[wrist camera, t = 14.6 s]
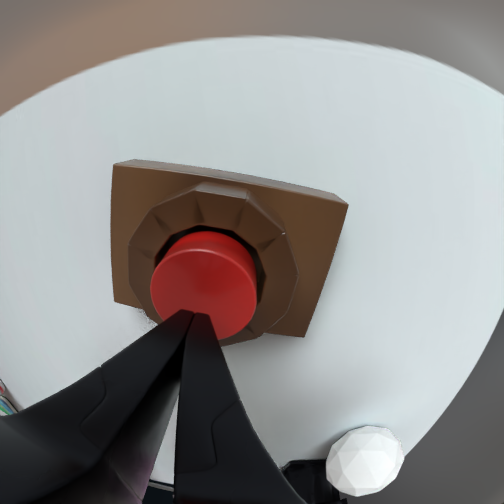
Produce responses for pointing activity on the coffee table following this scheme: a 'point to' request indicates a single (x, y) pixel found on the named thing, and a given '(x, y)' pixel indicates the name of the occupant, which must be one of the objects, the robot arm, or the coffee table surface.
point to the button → (207, 281)
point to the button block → (231, 224)
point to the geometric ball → (364, 460)
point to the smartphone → (6, 406)
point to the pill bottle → (1, 388)
